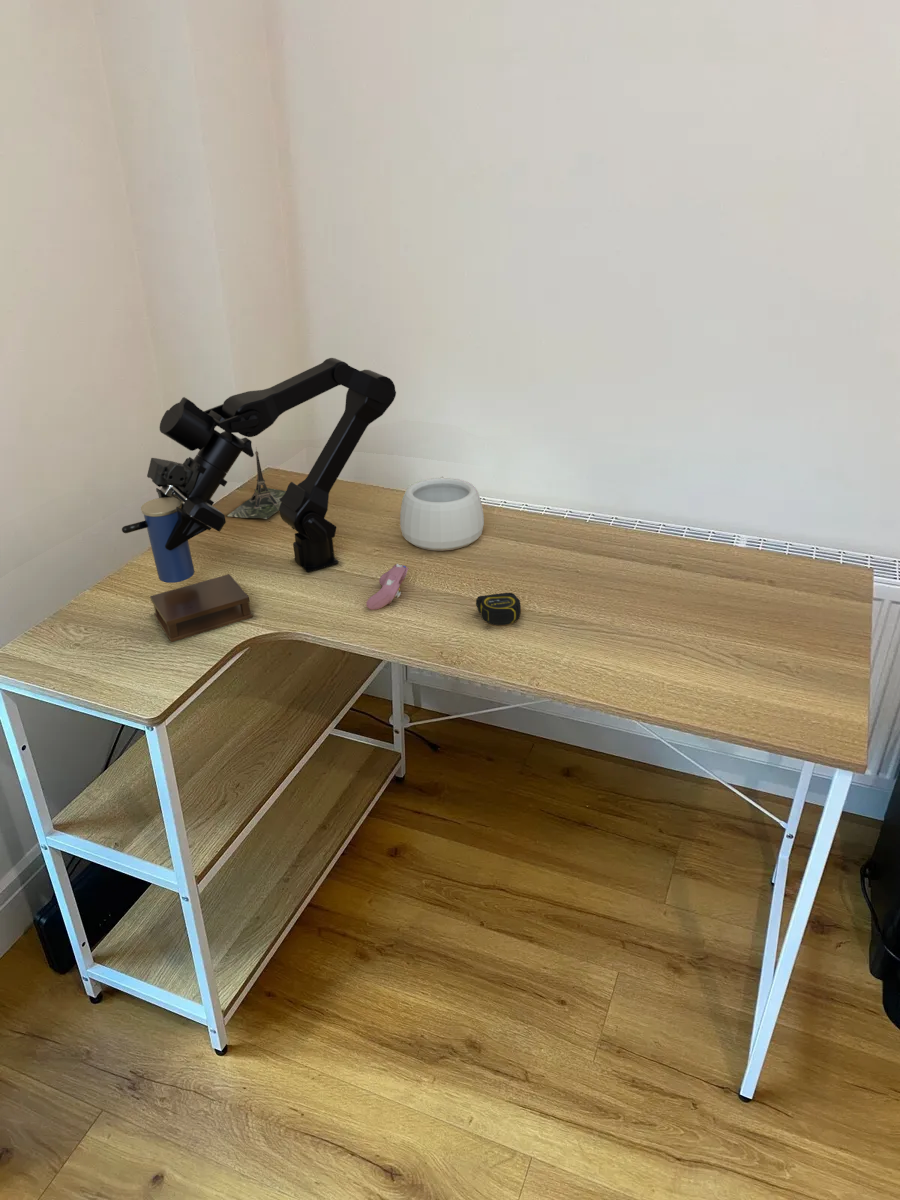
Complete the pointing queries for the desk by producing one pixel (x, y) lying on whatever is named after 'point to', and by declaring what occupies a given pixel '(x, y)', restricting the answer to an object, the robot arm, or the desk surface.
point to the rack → (201, 607)
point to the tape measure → (499, 608)
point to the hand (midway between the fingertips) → (160, 542)
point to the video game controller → (388, 587)
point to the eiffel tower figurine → (260, 500)
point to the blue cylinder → (165, 539)
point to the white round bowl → (441, 514)
